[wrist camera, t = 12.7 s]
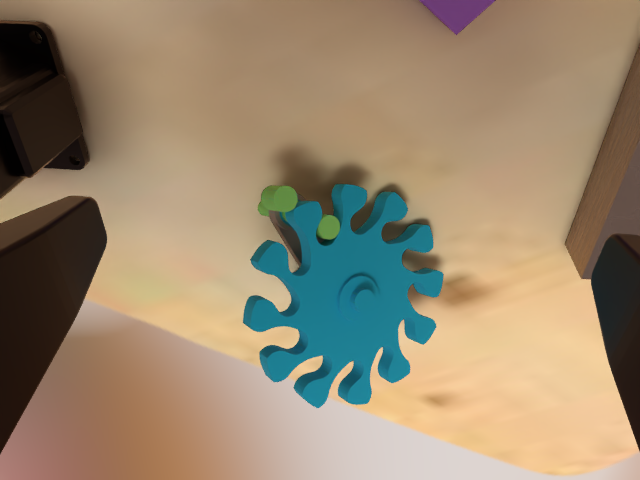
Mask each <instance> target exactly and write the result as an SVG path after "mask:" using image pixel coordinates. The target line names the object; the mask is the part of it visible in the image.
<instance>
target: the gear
mask: <svg viewBox="0 0 640 480" xmlns="http://www.w3.org/2000/svg"><path fill="white" fill-rule="evenodd" d="M366 200H367V191H366V190H365V189H363V188H361V187H359V186H355V185H348V184H336V185H335V186H334V188H333V190H332V202H333V209H334V214H333V215H326V214H322V208H321V206H320V204H319V203H318V201H306V200H305V198H304V197H303V196H301V195H300V194H297V193H296V191H295V190H294V189H293V188H292V187H290V186H268V187H266V188H265V189H264V190H263V192H262V195H261V202H260V203H259V205H258V211H259V213H260V214H261V215H264V216H269V217H270V219H271V221H272V223H273V225H274V226H275V228H276V230H277V231H278V233H279V234H280V236H281V238H282V239H283V241H284V243H285V244H286V246H287V248H288V249H289V251H290V252H291V254H292V256H293V257H294V259H295V261H296V262H297V264H298V266H299V267H300V268H299V269H298V270H297V271H296V272H293V273H291V272H290V270H289V266H288V253H287V250H286V249H285V247H284V246H283V245H282V244H280V243H278V242H274V241H270V240H267V241H265V242H264V243H263V244H262V245H261V246H260V247H259V248H258V249H257V250H256V252H255V253H254V255H253V256H252V258H251V259H250V260H251V263H252V265H253V266H254V267H255V268H256V269H257V270H260V271H262V272H264V273H267V274H271V275H275V276H276V277H278V278H279V279H280V280H281V281H282V282H283V283H284V285H285V286H286V288H287V289H288V291H289V292H290V294H291V304H290V306H289V307H288V309H286V310H285V311H283V312H279V311H278V310H277V308H276V307H275V305H274V304H273V303H272V302H270V301H269V300H267V299H265V298H263V297H261V296H257V295H255V296H250V297H249V298H248V300H247V303H246V306H245V310H244V318H243V323H244V324H245V325H247V326H248V327H249V328H251V329H252V330H254V331H257V332H263V331H266V330H268V329H271V328H274V327H279V326H288V327H292V328H296V329H298V331H299V334H300V337H299V341H298V343H297V344H296V345H295V346H294V347H293V348H290V349H284V348H281V347H279V346H276V345H270V346H267V347H265V348H263V349H262V350H261V351H260V362H261V365H262V368H263V370H264V372H265V374H266V376H268V377H269V378H270V379H271V380H272V381H273V382H279V381H282V380H284V379H285V378H287V377H288V376H289V374H290V373H291V372H292V370H293V369H294V368H296V367H297V366H298V365H299V364H300V363H302V362H304V361H305V360H307V359H310V358H313V357H317V356H321V355H323V363H322V365H321V367H320V368H319V369H318V370H316V371H314V372H311V373H307V374H304V375H302V376H301V377H299V378H298V380H297V381H296V383H295V385H294V389H295V391H296V392H297V393H298V394H299V395H300V396H301V397H302V398H303V399H305V400H306V401H307V402H308V403H310V404H311V405H313V406H315V407H316V408H319V407H321V406H322V405H323V404H324V403H325V401H326V400H327V397H328V394H329V390H330V387H331V384H332V382H333V381H334V379H335V377H336V376H337V374H338V373H339V372H340V371H341V370H342V369H343V368H344V367H345V366H346V365H347V364H348V363H349V362H351V361H354V366H353V369H352V371H351V372H350V373H349V374H348V375H347V376H346V377H345V378H344V379H343V380H342V381H341V383H340V385H339V387H338V395H339V396H340V397H341V398H343V399H344V400H345V401H347V402H348V403H351V404H356V405H358V404H367V403H368V402H369V400H370V398H371V394H372V391H371V386H370V371H371V366H372V364H373V361H374V358H375V356H376V354H377V352H378V350H379V349H380V348H381V347H383V353H382V356H381V359H380V361H379V364H378V373H379V375H380V376H381V377H382V378H384V379H386V380H387V381H389V382H391V383H394V382H397V381H399V380H401V379H402V378H404V377H405V376H407V375H408V374H409V373H410V364H409V362H408V361H407V360H406V359H405V357H404V356H403V354H402V353H401V350H400V347H399V342H398V327H399V324H400V322H401V321H402V320H403V319H404V322H405V334H406V336H407V337H408V338H409V339H411V340H413V341H416V342H418V343H420V344H425V343H426V342H427V341H428V340H429V338H430V337H431V335H432V334H433V332H434V330H435V328H436V324H435V322H434V321H433V320H432V319H431V318H428V317H425V316H422V315H420V314H418V313H417V312H416V311H415V310H414V308H413V307H412V305H411V303H410V301H409V299H408V296H407V294H408V289H409V287H410V286H411V285H412V284H413V286H414V288H415V289H416V291H417V292H418V293H420V294H423V295H427V296H430V297H437V296H439V293H440V291H441V288H442V282H443V273H442V272H440V271H437V270H433V269H429V268H422V269H420V270H418V271H410V270H408V269H406V268H405V267H404V266H403V264H402V255H403V253H404V251H405V250H406V249H409V250H412V251H417V252H422V253H426V252H429V251H430V250H431V249H432V248H433V237H432V233H431V229H430V226H428V225H421V224H412V225H410V226H409V227H407V229H406V230H405V231H404V232H403V233H402V234H401V235H400V236H399V237H397V238H395V239H393V240H390V241H386V242H384V241H383V239H382V236H381V232H382V228H383V226H384V225H385V224H386V223H387V222H390V221H398V220H401V219H402V218H404V217H405V215H406V213H407V211H408V208H407V205H406V204H405V202H404V201H403V199H402V198H401V197H400V196H399V195H398V194H396V193H395V192H382V193H380V194H379V195H378V196H377V198H376V200H375V204H374V208H373V210H372V213H371V215H370V217H369V218H368V219H367V221H366V222H365V223H364V224H363V225H362V226H361V227H360V228H358V229H357V230H356V231H355V232H353V231H352V229H351V226H350V221H351V218H352V216H353V215H354V214H355V213H356V212H357V211H359V210H360V209H361V208H362V207H363V206H364V204H365V203H366Z"/></svg>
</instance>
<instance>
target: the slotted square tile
mask: <svg viewBox="0 0 640 480" xmlns="http://www.w3.org/2000/svg"><path fill="white" fill-rule="evenodd" d="M615 233H618V234H633V235H639V236H640V45H639V48H638V50H637V53H636V56H635V58H634V61H633V64H632V66H631V69H630V72H629V74H628V77H627V80H626V83H625V85H624V88H623V91H622V93H621V96H620V99H619V101H618V104H617V107H616V109H615V112H614V115H613V117H612V120H611V123H610V125H609V128H608V131H607V133H606V136H605V139H604V141H603V144H602V147H601V149H600V152H599V155H598V157H597V160H596V163H595V166H594V168H593V171H592V174H591V176H590V179H589V182H588V184H587V187H586V190H585V192H584V195H583V198H582V200H581V203H580V206H579V208H578V211H577V214H576V216H575V219H574V222H573V224H572V227H571V230H570V232H569V235H568V238H567V240H566V243H565V246H566V248H567V250H568V252H569V254H570V256H571V258H572V260H573V262H574V265H575V267H576V269H577V271H578V273H579V275H580V277H581V279H591V276H592V271H593V269H594V266H595V264H596V262H597V259H598V257H599V255H600V252H601V250H602V248H603V246H604V243H605V241H606V239H607V238H608V237H609V236H610V235H612V234H615Z"/></svg>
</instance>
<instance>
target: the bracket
mask: <svg viewBox="0 0 640 480" xmlns="http://www.w3.org/2000/svg"><path fill="white" fill-rule="evenodd" d="M419 1H420V2H422V3H423V4H424V5H425V6H426V7H427V8H428V9H429V10H430V11H431V12H432V13H433V14H434V15H435V16H436V17H438V18H439V19H440V20H441V21H442V22H443V23H444V24H445V25H446V26H447V27H448V28H449V29H450V30H451V31H452V32H454V33H455V34H456V35H457V34H458V33H459V32H460V31H462V30H463V29H464V28H465V27H466V26H467V25H468V24H469V23H471V22H472V21H473V20H474V19H475V18H476V17H477V16H478V15H480V14H481V13H482V12H483V11H484V10H485V9H486V8H487V7H489V6H490V5H491V4H492V3H493V2H494V1H495V0H419Z"/></svg>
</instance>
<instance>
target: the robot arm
mask: <svg viewBox="0 0 640 480" xmlns="http://www.w3.org/2000/svg"><path fill="white" fill-rule="evenodd" d="M35 31H36V32H38V33H39V34H40V36H41V38H42V41H40V40H39V39H37V37H36V35H35ZM82 132H83V131H82V127H81V124H80V120H79V117H78V114H77V110H76V107H75V103H74V100H73V97H72V93H71V90H70V86H69V83H68V80H67V79H66V77H65V75H64V72H63V69H62V65H61V62H60V58H59V55H58V52H57V48H56V45H55V42H54V38H53V35H52V33H51V31H50V29H49V28H48V27H47V26H46V25H44V24H43V23H40V22H28V21H0V199H2V198H3V197H4V196H5V195H6V194H8V193H9V192H10V191H11V190H12V189H13V188H15V187H16V186H17V185H18V184H19V183H21V182H22V181H23V180H24V179H25V178H31V177H33V176H34V175H35V174H36V173H38V172H39V171H40V170H41V169H42V168H55V169H71V170H81V169H82V168H84V167H85V166H86V165H87V164H88V162H89V156H88V153H87V149H86V146H85V143H84V139H83V136H82ZM74 156H76V157H77V158H78V159H79V160H80V161H77V160H76V159H75V158H74ZM106 244H107V234H106V230H105V227H104V224H103V220H102V217H101V214H100V210H99V207H98V204H97V202H96V201H95V200H94V199H93V198H91V197H85V196H68V197H65V198H63V199H60V200H58V201H55V202H53V203H50V204H48V205H45V206H43V207H40V208H38V209H35V210H33V211H30V212H28V213H25V214H23V215H20V216H18V217H15V218H13V219H10V220H8V221H5V222H3V223H0V454H1V452H2V450H3V448H4V447H5V445H6V443H7V441H8V439H9V438H10V436H11V434H12V432H13V430H14V429H15V427H16V425H17V423H18V421H19V420H20V418H21V416H22V414H23V412H24V410H25V409H26V407H27V405H28V403H29V401H30V400H31V398H32V396H33V394H34V392H35V391H36V389H37V387H38V385H39V384H40V382H41V380H42V378H43V376H44V374H45V373H46V371H47V369H48V367H49V365H50V364H51V362H52V360H53V358H54V356H55V354H56V353H57V351H58V349H59V347H60V346H61V344H62V342H63V340H64V338H65V337H66V335H67V333H68V331H69V329H70V328H71V326H72V324H73V322H74V320H75V318H76V316H77V314H78V312H79V310H80V308H81V306H82V303H83V301H84V299H85V296H86V294H87V291H88V289H89V286H90V284H91V282H92V279H93V277H94V274H95V272H96V270H97V267H98V265H99V262H100V260H101V257H102V255H103V253H104V250H105V248H106ZM591 285H592V290H593V295H594V299H595V304H596V308H597V313H598V318H599V322H600V327H601V331H602V336H603V341H604V345H605V350H606V354H607V358H608V362H609V365H610V368H611V371H612V374H613V377H614V380H615V383H616V385H617V388H618V391H619V394H620V397H621V400H622V402H623V405H624V408H625V411H626V414H627V417H628V420H629V422H630V425H631V428H632V431H633V434H634V437H635V439H636V442H637V445H638V448H639V451H640V236H639V235H633V234H618V233H615V234H612V235H610V236H609V237H608V238H607V239H606V241H605V243H604V246H603V248H602V250H601V252H600V255H599V257H598V259H597V262H596V264H595V266H594V269H593V271H592V276H591Z"/></svg>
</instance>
